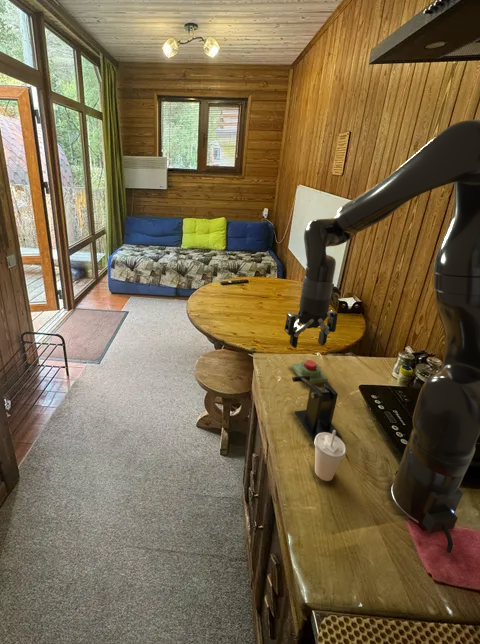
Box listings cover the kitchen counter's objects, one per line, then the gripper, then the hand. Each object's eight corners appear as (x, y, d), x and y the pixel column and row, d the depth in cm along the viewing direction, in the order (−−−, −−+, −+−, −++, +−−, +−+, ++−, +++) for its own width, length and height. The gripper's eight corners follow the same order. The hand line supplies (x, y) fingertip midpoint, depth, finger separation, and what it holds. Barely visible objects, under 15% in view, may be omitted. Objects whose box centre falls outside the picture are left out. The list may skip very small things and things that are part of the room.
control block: (327, 384, 100) (329, 374, 99) (304, 386, 99) (306, 376, 97) (312, 367, 109) (314, 357, 107) (291, 369, 107) (292, 359, 106)
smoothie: (311, 487, 68) (322, 439, 63) (305, 460, 74) (314, 415, 69) (342, 491, 67) (355, 443, 62) (333, 464, 73) (344, 418, 68)
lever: (292, 382, 91) (292, 374, 91) (307, 380, 92) (307, 373, 92) (317, 402, 78) (317, 393, 78) (335, 400, 79) (335, 391, 79)
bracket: (293, 414, 88) (300, 377, 83) (319, 411, 89) (327, 375, 85) (312, 444, 78) (320, 404, 74) (340, 440, 80) (350, 401, 75)
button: (318, 370, 101) (318, 366, 101) (308, 371, 100) (308, 367, 100) (312, 363, 104) (313, 359, 104) (302, 364, 104) (303, 360, 103)
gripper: (298, 300, 78) (290, 355, 83) (348, 297, 80) (337, 350, 85) (285, 289, 85) (278, 340, 90) (331, 286, 87) (322, 336, 92)
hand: (307, 345), depth 88 cm, fingers open, 8 cm apart
